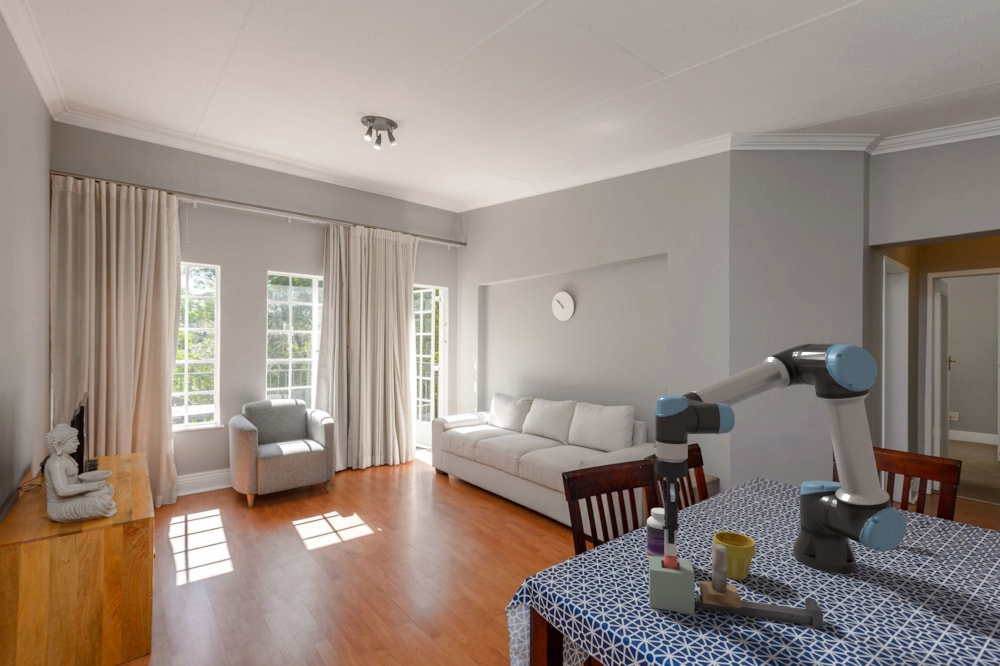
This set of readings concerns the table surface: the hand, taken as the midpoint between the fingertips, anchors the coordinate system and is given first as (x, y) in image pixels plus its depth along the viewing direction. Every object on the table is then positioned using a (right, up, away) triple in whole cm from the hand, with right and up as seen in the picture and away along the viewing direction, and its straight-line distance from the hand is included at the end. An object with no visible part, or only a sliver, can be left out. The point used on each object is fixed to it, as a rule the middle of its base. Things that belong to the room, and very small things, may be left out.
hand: (670, 554), depth 119 cm
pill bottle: (+5, -12, +22) cm, 26 cm away
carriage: (+11, -9, -3) cm, 14 cm away
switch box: (0, -12, 0) cm, 12 cm away
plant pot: (+23, -12, +14) cm, 29 cm away
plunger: (0, -4, 0) cm, 4 cm away
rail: (+17, -12, -5) cm, 21 cm away
